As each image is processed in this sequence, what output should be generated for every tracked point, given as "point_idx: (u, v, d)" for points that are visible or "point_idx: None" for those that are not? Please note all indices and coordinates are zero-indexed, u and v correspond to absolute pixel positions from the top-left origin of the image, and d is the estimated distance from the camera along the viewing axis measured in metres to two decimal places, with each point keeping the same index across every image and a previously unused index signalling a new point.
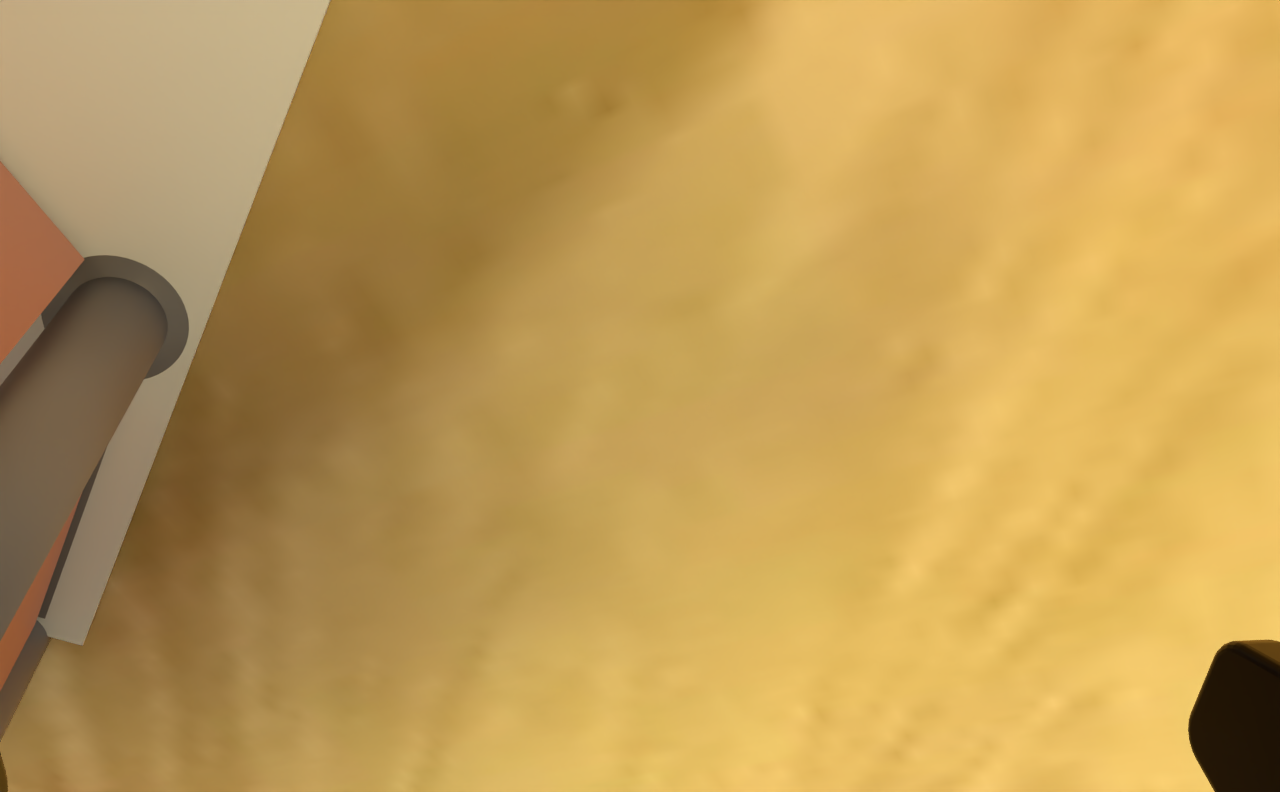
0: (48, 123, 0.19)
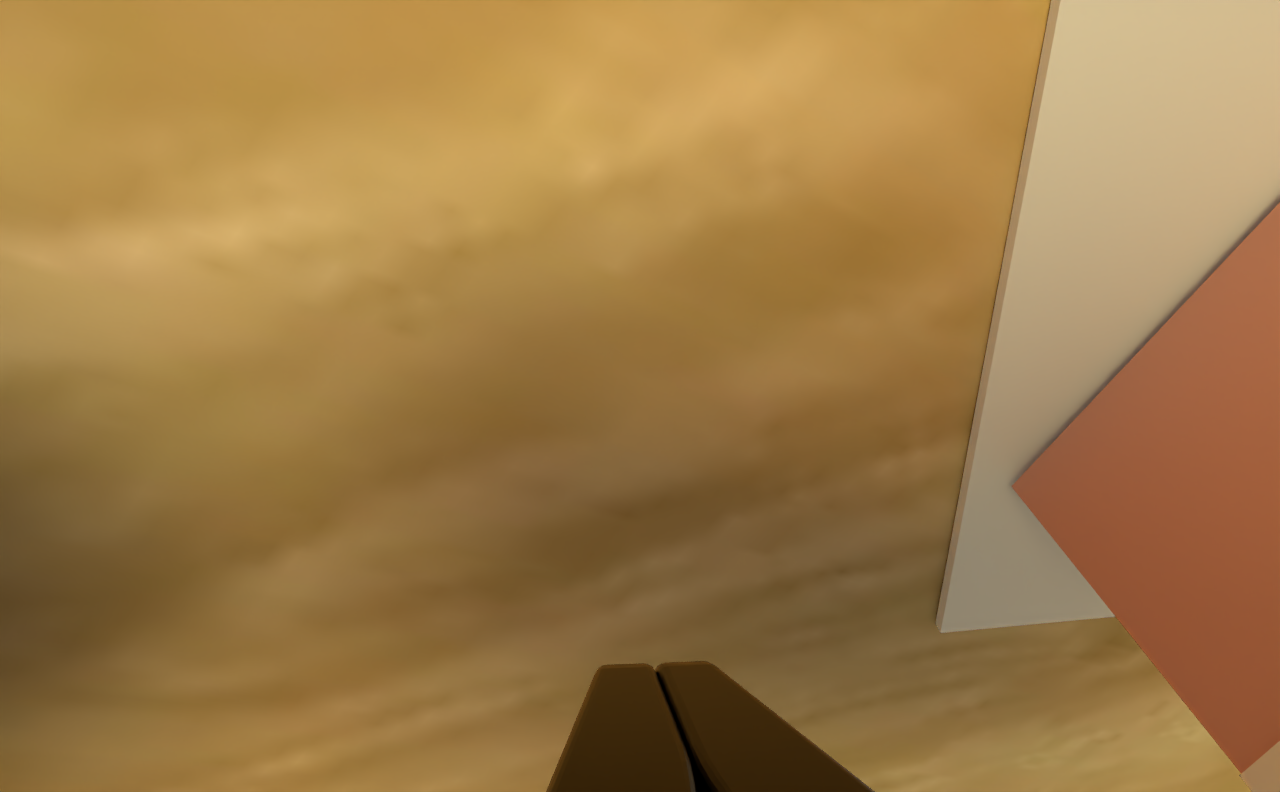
0: None
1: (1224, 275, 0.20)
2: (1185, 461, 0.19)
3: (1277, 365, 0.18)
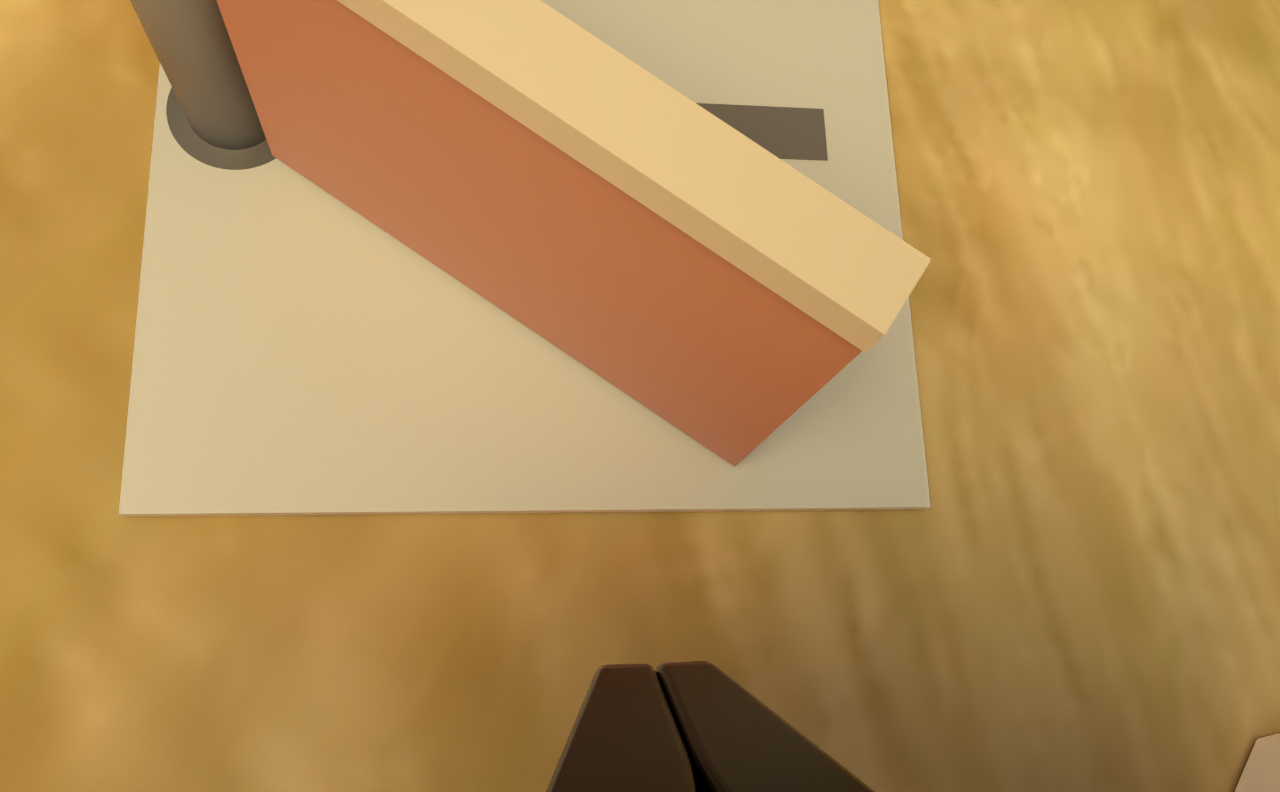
0: (335, 262, 0.21)
1: (496, 300, 0.21)
2: (640, 345, 0.19)
3: (535, 277, 0.19)
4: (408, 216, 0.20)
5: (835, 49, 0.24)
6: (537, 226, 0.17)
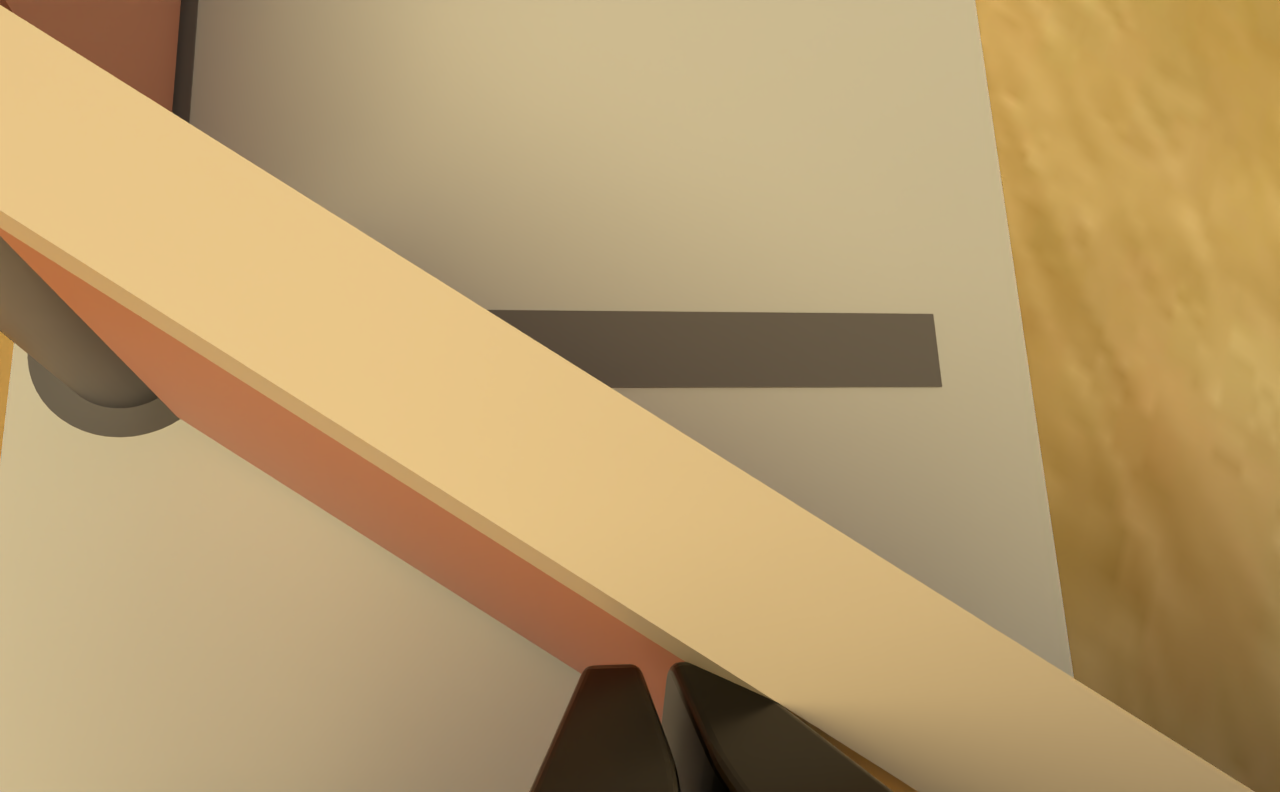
0: (265, 569, 0.15)
1: (500, 619, 0.15)
2: None
3: (560, 637, 0.13)
4: (369, 526, 0.14)
5: (944, 228, 0.18)
6: (567, 619, 0.11)
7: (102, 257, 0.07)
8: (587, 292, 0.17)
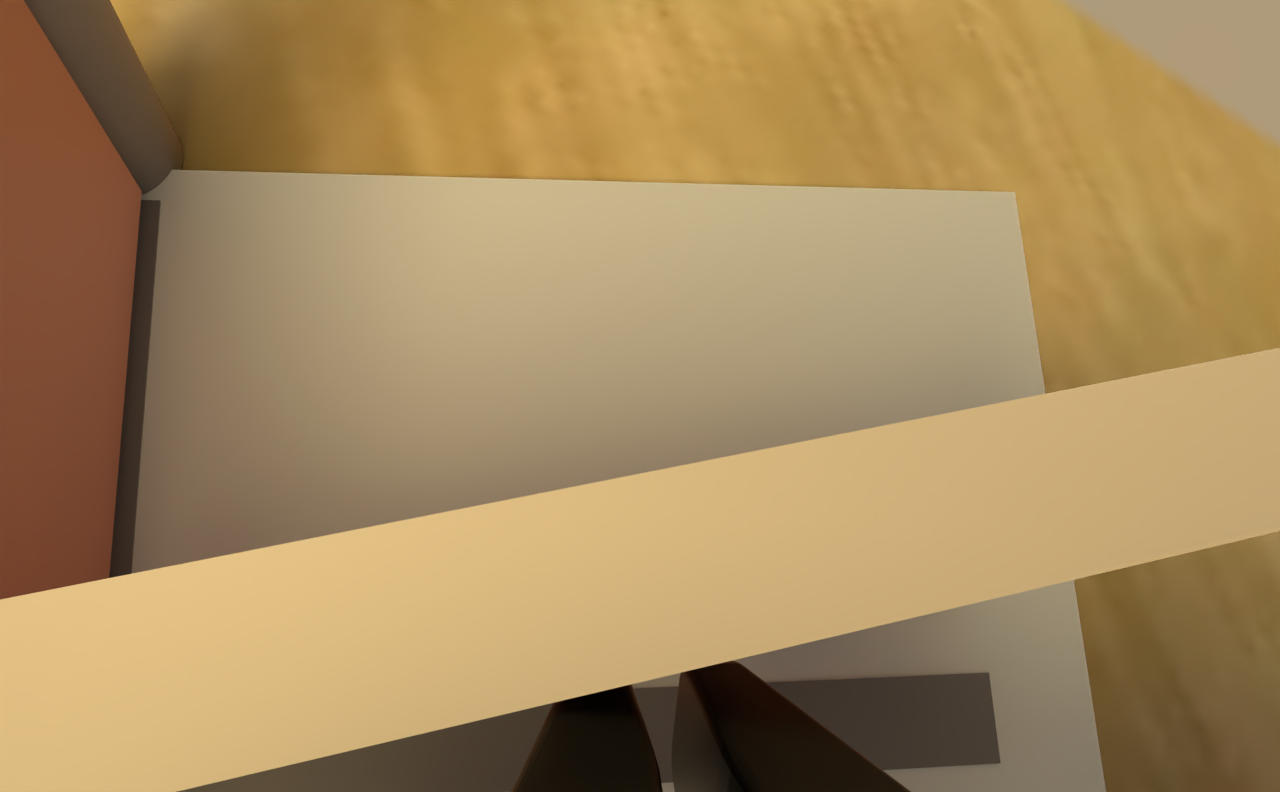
0: None
1: None
2: None
3: None
4: None
5: None
6: None
7: (166, 775, 0.06)
8: None
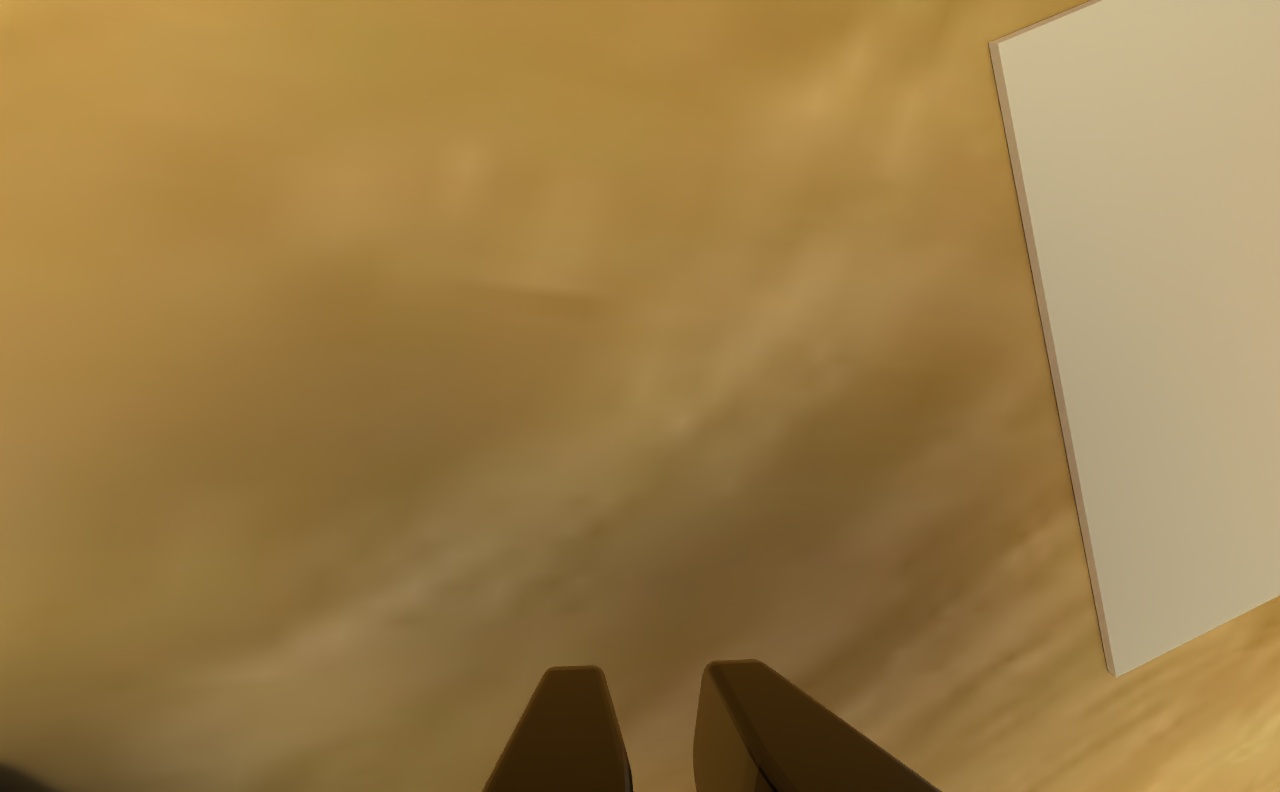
0: (1245, 131, 0.22)
1: None
2: None
3: None
4: None
5: None
6: None
7: None
8: None
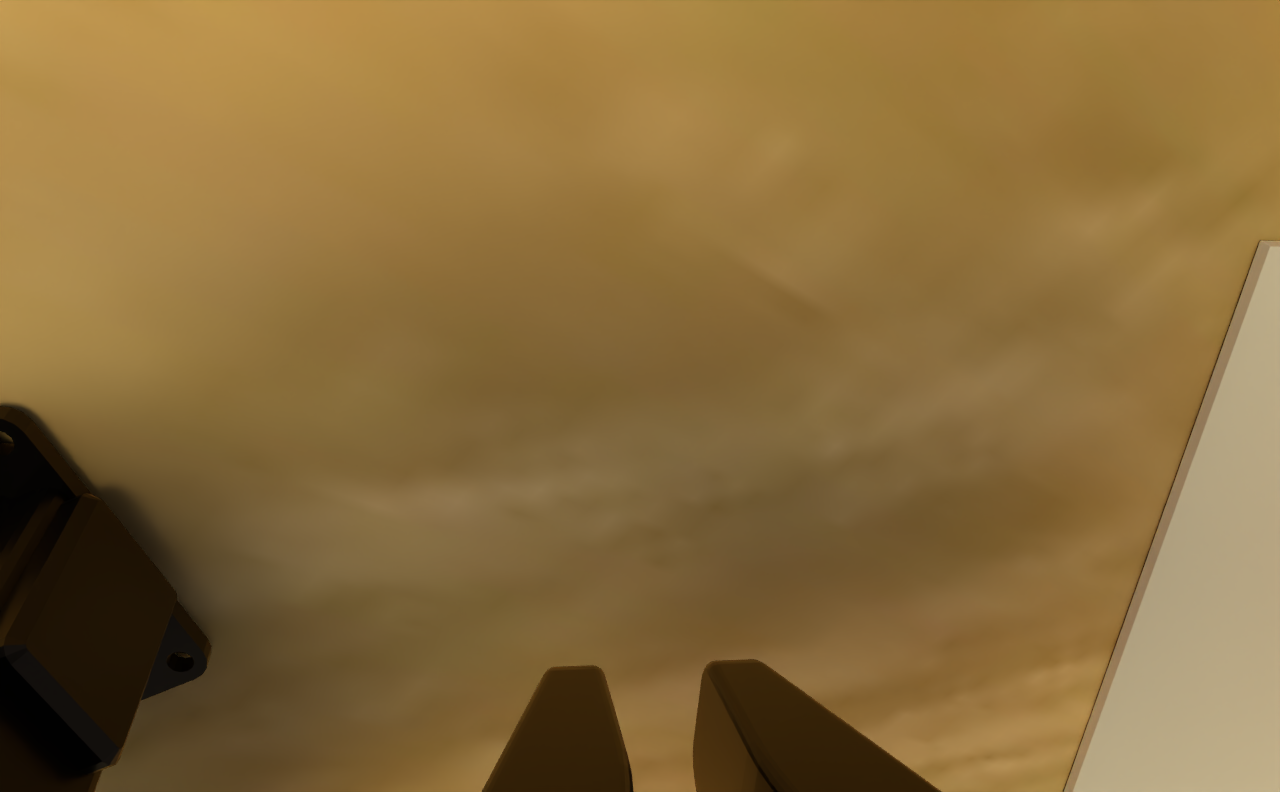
0: None
1: None
2: None
3: None
4: None
5: None
6: None
7: None
8: None
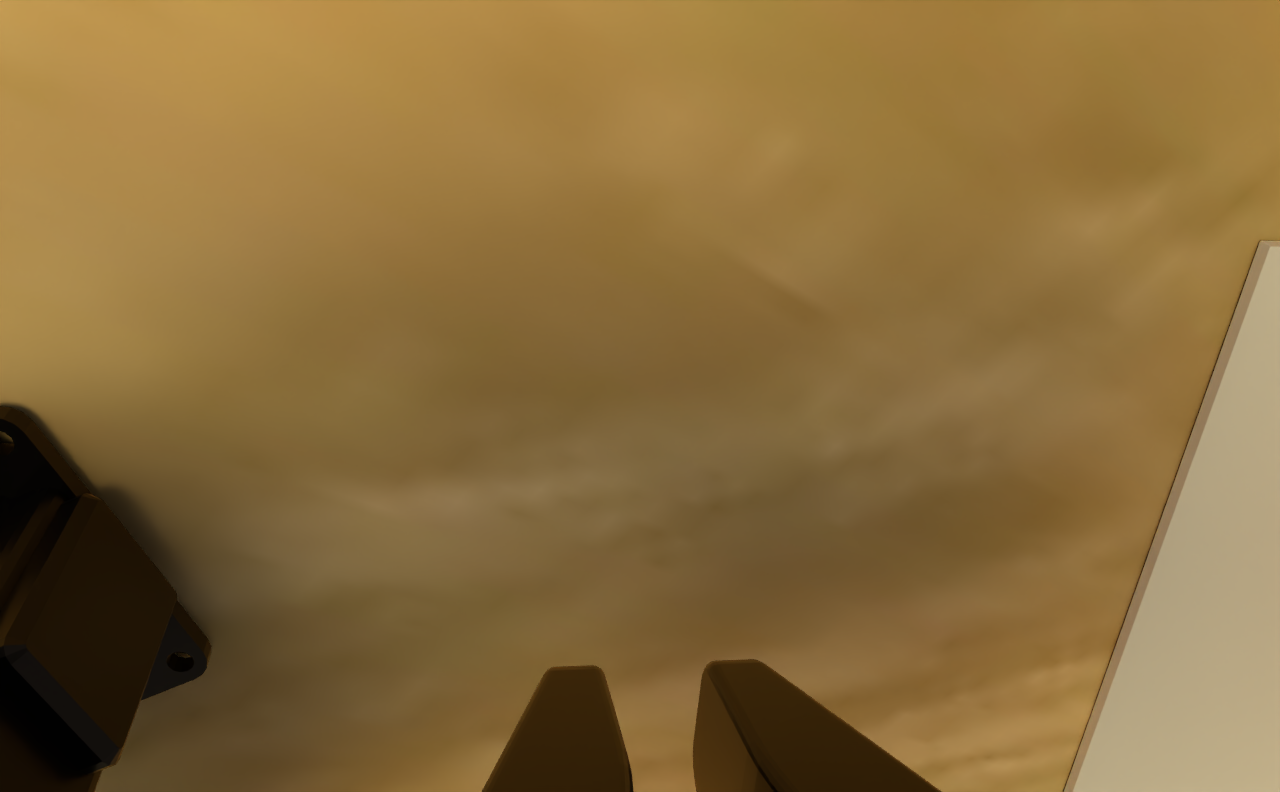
0: None
1: None
2: None
3: None
4: None
5: None
6: None
7: None
8: None
